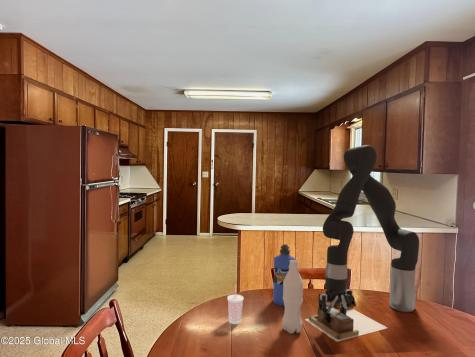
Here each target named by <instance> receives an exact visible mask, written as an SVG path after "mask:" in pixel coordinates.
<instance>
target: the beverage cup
mask: <svg viewBox="0 0 475 357" xmlns="http://www.w3.org/2000/svg"><path fill="white" fill-rule="evenodd" d="M234 286H235V287H234V293H233V294H229V295H227V297H226V298H227V303H228V305H227V306H228V307H227V308H228V323H229V324H233V325H238V324H240V323H241V322H242V315H243V314H242V312H243V306H244V305H243V304H244V303H243V302H244V300H245V298H244V296H243V295H241V294H237V284H234Z"/></svg>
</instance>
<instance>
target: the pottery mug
mask: <svg viewBox="0 0 475 357" xmlns="http://www.w3.org/2000/svg"><path fill="white" fill-rule="evenodd" d="M344 298H345V296H344ZM347 302H348V301H347ZM352 303H353V304H354V306H357V302H356V300H355V296H354V295H353V294H352ZM334 306H337V307H341V306H340V304H339V303H337V304H334Z"/></svg>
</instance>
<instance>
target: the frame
mask: <svg viewBox="0 0 475 357" xmlns="http://www.w3.org/2000/svg"><path fill="white" fill-rule="evenodd" d="M327 309H328V307H327ZM317 315H318V320H319V321H320V322H322V323H323V324H325V325H326V326H328V327H329V328H331V329H332V330H334V331H335V332H337V333H338V334H341V333H345V332H349V331H353V324H354V319H352V318H350V317H349V316H347V315H345V314H343V313H342V312H340V310H338V309H336V308H335V307H333V308H331V311H330V323H326V322H325V321H324V312H323V311H321V310H319V307H318V308H317Z"/></svg>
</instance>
